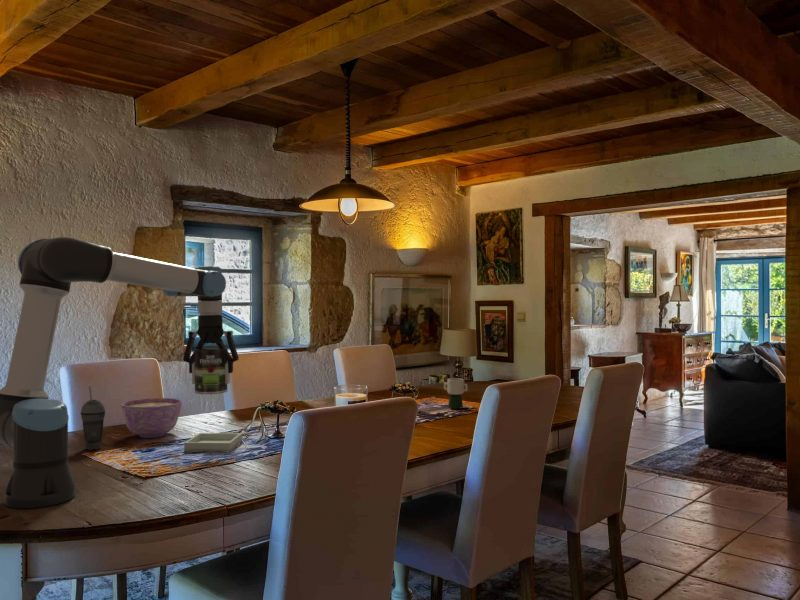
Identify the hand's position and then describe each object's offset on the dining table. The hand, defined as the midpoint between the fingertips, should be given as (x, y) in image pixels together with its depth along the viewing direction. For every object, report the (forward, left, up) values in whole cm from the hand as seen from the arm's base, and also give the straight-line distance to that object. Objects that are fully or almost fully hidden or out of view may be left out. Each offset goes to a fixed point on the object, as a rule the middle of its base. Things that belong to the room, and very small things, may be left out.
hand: (211, 383), depth 211 cm
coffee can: (0, 0, -3) cm, 3 cm away
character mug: (+74, -83, -21) cm, 114 cm away
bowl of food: (+18, +27, -21) cm, 39 cm away
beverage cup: (-2, +38, -21) cm, 43 cm away
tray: (+2, 0, -21) cm, 21 cm away
